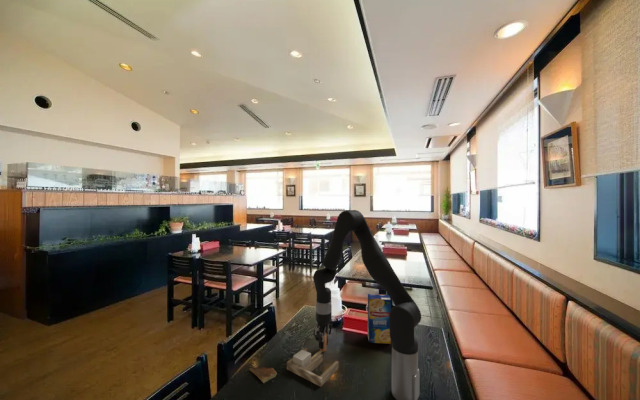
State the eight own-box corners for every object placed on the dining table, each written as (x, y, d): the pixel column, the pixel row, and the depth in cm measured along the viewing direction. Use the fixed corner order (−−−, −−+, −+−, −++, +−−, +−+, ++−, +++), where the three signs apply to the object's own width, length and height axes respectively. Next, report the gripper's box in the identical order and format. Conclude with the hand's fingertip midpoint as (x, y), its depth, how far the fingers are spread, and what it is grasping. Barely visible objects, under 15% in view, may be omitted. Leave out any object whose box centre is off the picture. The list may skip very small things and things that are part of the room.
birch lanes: (338, 368, 106) (338, 361, 106) (320, 387, 96) (320, 379, 96) (305, 354, 117) (305, 347, 117) (286, 369, 106) (286, 361, 106)
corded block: (329, 350, 120) (329, 333, 120) (302, 374, 103) (302, 354, 103) (320, 346, 123) (321, 330, 123) (293, 369, 106) (293, 350, 106)
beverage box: (391, 343, 126) (391, 299, 126) (368, 342, 127) (369, 298, 127) (388, 336, 133) (388, 294, 133) (367, 335, 134) (367, 293, 134)
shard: (249, 371, 105) (249, 366, 105) (265, 363, 110) (265, 359, 110) (262, 385, 97) (262, 380, 97) (279, 375, 103) (279, 371, 103)
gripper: (321, 317, 112) (321, 356, 112) (338, 307, 124) (337, 342, 124) (308, 313, 117) (308, 351, 116) (325, 303, 128) (325, 337, 128)
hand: (323, 346), depth 120 cm, fingers closed on corded block, 3 cm apart
